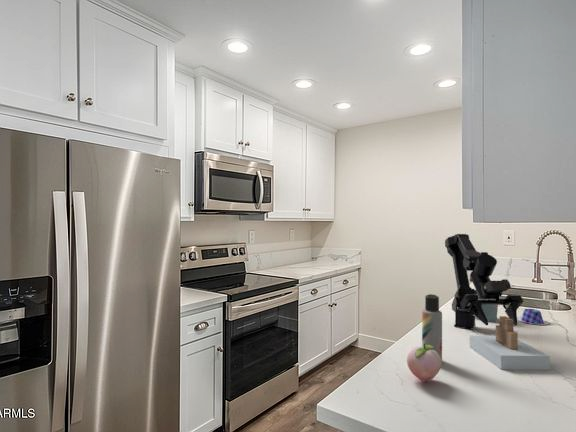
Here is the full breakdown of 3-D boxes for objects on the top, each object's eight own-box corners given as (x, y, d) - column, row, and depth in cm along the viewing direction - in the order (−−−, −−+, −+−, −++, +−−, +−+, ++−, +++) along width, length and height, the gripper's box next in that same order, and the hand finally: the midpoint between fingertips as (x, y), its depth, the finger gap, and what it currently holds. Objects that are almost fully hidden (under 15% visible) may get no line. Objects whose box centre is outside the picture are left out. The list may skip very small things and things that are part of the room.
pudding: (556, 326, 146) (556, 313, 146) (527, 326, 146) (527, 313, 147) (536, 318, 158) (536, 306, 158) (509, 318, 158) (509, 306, 159)
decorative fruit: (414, 371, 101) (414, 336, 101) (444, 379, 96) (444, 342, 96) (401, 382, 93) (401, 344, 94) (433, 392, 88) (433, 352, 88)
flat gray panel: (469, 347, 120) (469, 335, 120) (510, 347, 120) (510, 335, 120) (500, 369, 102) (500, 355, 102) (549, 369, 102) (549, 355, 102)
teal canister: (501, 319, 155) (501, 292, 156) (495, 324, 148) (495, 295, 148) (476, 315, 162) (476, 288, 162) (469, 319, 155) (469, 292, 155)
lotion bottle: (441, 358, 110) (441, 294, 111) (442, 365, 105) (442, 297, 105) (421, 355, 112) (421, 292, 113) (422, 362, 107) (422, 296, 107)
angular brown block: (495, 353, 115) (495, 314, 115) (502, 353, 115) (501, 314, 115) (511, 362, 107) (510, 321, 107) (517, 362, 107) (517, 321, 107)
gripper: (464, 270, 120) (482, 311, 108) (519, 270, 119) (543, 311, 108) (453, 289, 127) (469, 329, 116) (505, 290, 127) (526, 330, 116)
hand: (501, 324), depth 114 cm, fingers open, 9 cm apart
